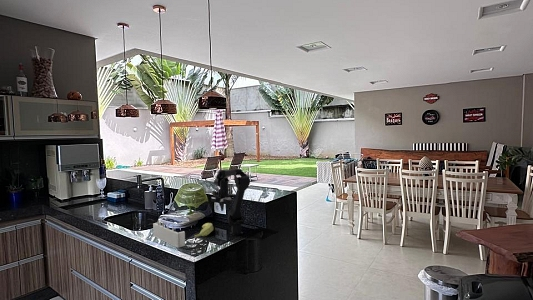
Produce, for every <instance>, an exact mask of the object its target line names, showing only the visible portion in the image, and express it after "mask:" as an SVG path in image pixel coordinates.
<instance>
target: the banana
mask: <svg viewBox="0 0 533 300" xmlns="http://www.w3.org/2000/svg"><path fill="white" fill-rule="evenodd" d="M213 231H214V226H213V223H211V222H206V223H204V224H203V225H202V226H201V230H200V232H199V233H198V234H194V238H198V237H200V236H201V237H207V236H209V234H211V233H212V232H213Z"/></svg>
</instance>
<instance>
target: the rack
mask: <svg viewBox="0 0 533 300" xmlns="http://www.w3.org/2000/svg"><path fill="white" fill-rule="evenodd" d="M152 225H153V226H152V227H153V228H152V232H153V234H152V236H153V237H154V238H157V239H159V240H161V241H162V242H165V243H167V244H169V245H171V246H173V247H176V248H177V249H179V248H183V247H185V246H186V233H185V231H184V230H183V231H180V232H177V231H176V230H174V227H175V226H174V225H172V226H171V227H172V228H169V225H170V224H169V223H167V224H166V226H167V227H165V225H164V221H162V222H161V221H160V220H157V222H155V223H152Z"/></svg>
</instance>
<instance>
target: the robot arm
mask: <svg viewBox="0 0 533 300" xmlns="http://www.w3.org/2000/svg"><path fill="white" fill-rule="evenodd" d="M216 174H217V175H216V176H215V179H214V180H213V184H214V186H215V187H219V189H218V191H217V190H213V191H212V195H213V196H211V198H210V202H212V203H218V205H219V207H220V209H221V212H224V209H225V210H226V211H227V210H228V214H227V221H228V225H229V226H230V227H231V228H230V231H231V232H229V234H230V235H232V236H239V235H242V234H244V232H242V225H244V224H245V219H244V217H243V213H242V211H241V210H242V209H241V208H242V204H243V200H244V196H245V193H246V191H247V189H249V187H250V183H251V179H250V177H249V175H248V174H247V173H246V172H244V171H243V170H242V169H241V168H235V169H219V170H218V171H217V173H216ZM232 176H233V181H234V183H235V187H236V192H235V193H229V191H230V188H229V182H230V179H229V178H230V177H232ZM233 200H234V201H233ZM232 201H233V206H232V208H229V207H230V205H231V203H232Z"/></svg>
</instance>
